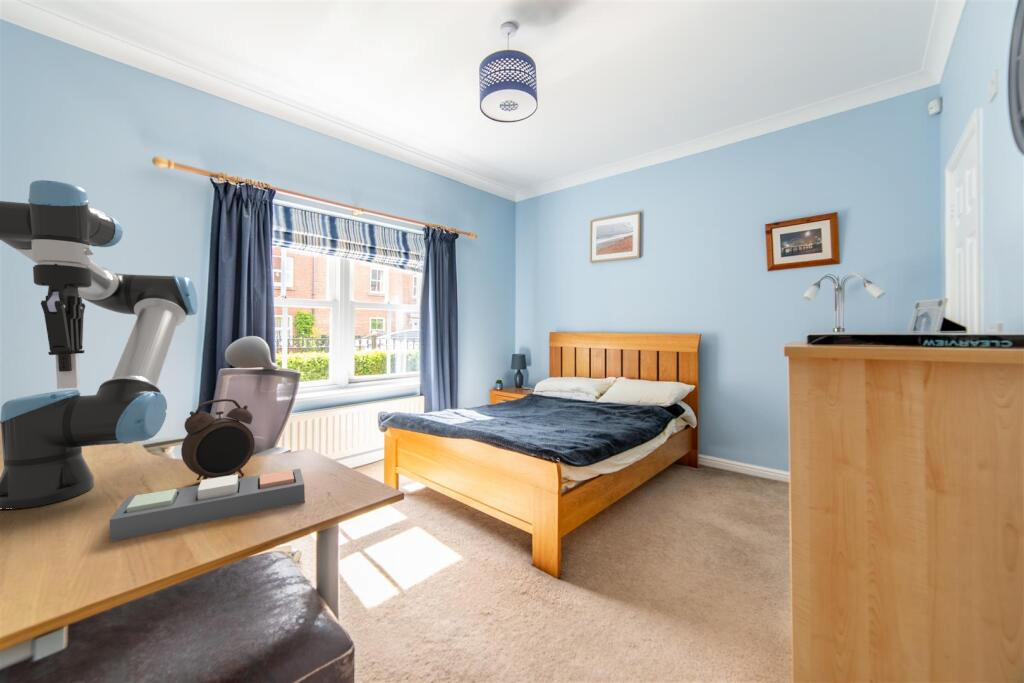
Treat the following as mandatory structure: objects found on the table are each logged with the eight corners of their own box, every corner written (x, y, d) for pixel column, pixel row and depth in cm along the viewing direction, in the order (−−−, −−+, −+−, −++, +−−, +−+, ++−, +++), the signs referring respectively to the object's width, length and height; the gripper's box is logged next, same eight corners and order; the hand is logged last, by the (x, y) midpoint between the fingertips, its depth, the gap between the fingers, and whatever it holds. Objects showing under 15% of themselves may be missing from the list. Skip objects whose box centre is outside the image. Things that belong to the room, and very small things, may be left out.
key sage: (136, 510, 81) (135, 495, 81) (177, 503, 85) (176, 488, 85) (127, 523, 76) (126, 507, 76) (171, 515, 79) (171, 500, 79)
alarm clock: (190, 492, 94) (187, 406, 94) (180, 485, 99) (177, 402, 98) (259, 474, 106) (257, 397, 105) (248, 468, 110) (245, 394, 110)
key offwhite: (202, 493, 87) (201, 480, 87) (238, 487, 90) (237, 474, 90) (198, 505, 81) (197, 490, 81) (236, 498, 85) (236, 483, 85)
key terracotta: (260, 488, 92) (259, 475, 92) (292, 482, 96) (292, 469, 96) (260, 498, 87) (259, 484, 87) (294, 491, 90) (294, 478, 90)
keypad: (127, 516, 83) (126, 497, 82) (300, 484, 99) (300, 468, 99) (110, 541, 73) (109, 519, 73) (304, 502, 89) (304, 484, 89)
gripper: (77, 263, 75) (83, 390, 76) (100, 270, 86) (105, 382, 87) (16, 259, 71) (24, 394, 72) (49, 268, 82) (55, 385, 83)
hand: (68, 387), depth 80 cm, fingers closed
